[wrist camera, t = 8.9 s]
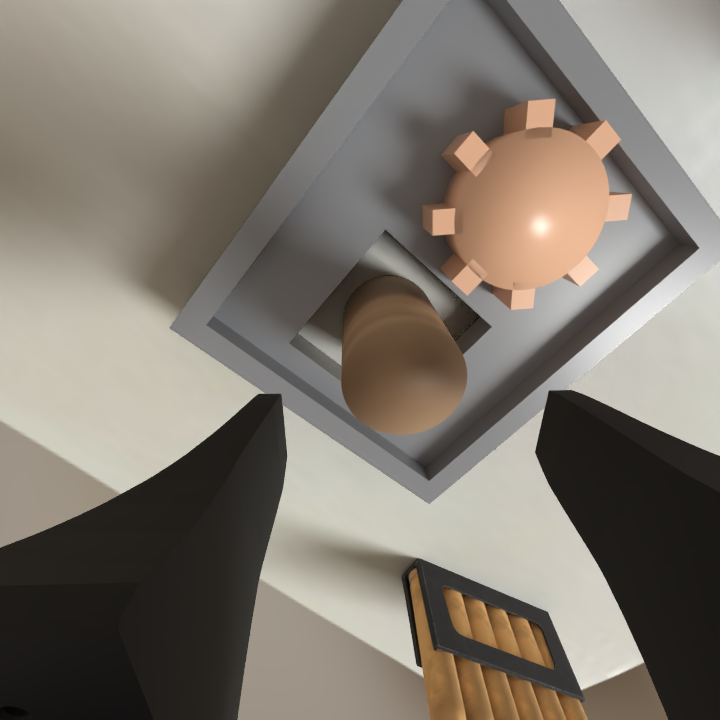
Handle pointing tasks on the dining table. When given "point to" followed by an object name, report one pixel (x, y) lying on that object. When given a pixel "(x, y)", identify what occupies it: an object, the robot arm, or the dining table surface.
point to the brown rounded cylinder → (398, 359)
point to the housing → (464, 225)
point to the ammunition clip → (486, 651)
